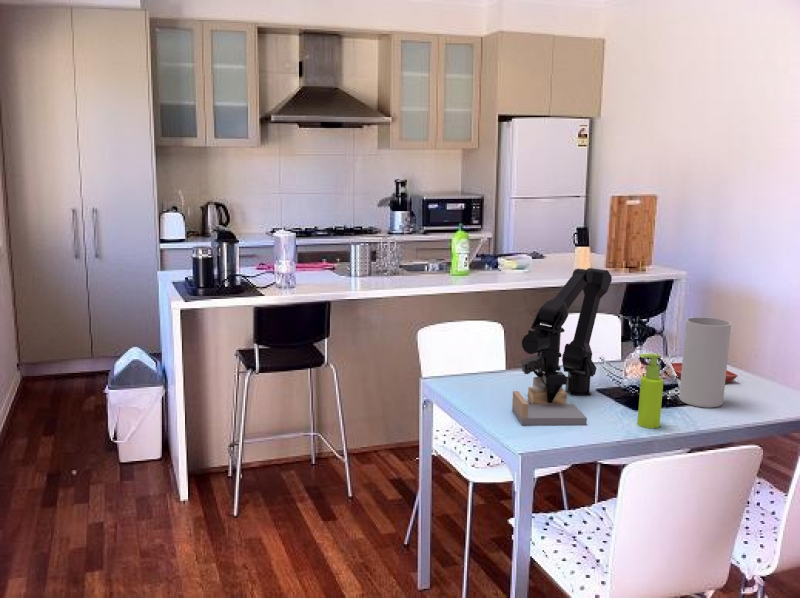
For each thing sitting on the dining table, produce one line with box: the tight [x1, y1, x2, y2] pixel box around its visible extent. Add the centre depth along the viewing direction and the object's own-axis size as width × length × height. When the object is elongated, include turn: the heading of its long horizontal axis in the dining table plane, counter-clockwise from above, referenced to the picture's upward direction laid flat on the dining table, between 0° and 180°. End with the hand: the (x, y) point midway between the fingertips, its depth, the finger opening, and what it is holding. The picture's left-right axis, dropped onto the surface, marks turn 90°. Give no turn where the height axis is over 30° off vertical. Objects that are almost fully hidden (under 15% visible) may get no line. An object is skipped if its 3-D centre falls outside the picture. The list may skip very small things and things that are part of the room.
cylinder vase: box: [678, 316, 732, 409], centre depth 233 cm, size 12×12×25 cm
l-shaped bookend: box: [511, 390, 588, 426], centre depth 217 cm, size 18×12×6 cm, turn 95°
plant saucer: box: [671, 362, 738, 384], centre depth 263 cm, size 18×18×3 cm
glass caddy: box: [527, 376, 568, 404], centre depth 230 cm, size 10×6×8 cm, turn 95°
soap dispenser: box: [637, 353, 664, 429], centre depth 212 cm, size 6×7×20 cm
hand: (546, 399), depth 231 cm, fingers closed on glass caddy, 6 cm apart
